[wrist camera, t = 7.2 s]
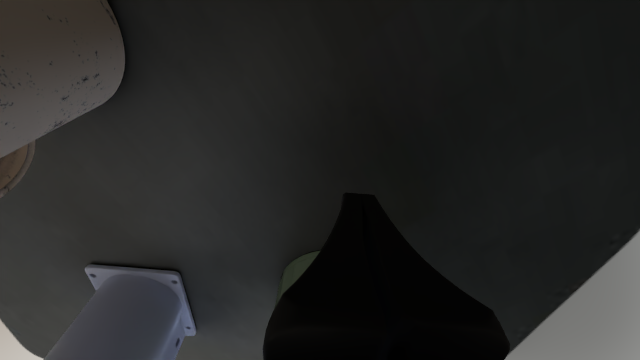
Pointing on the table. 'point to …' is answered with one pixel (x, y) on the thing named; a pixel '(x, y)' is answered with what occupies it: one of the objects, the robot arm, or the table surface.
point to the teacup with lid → (52, 72)
